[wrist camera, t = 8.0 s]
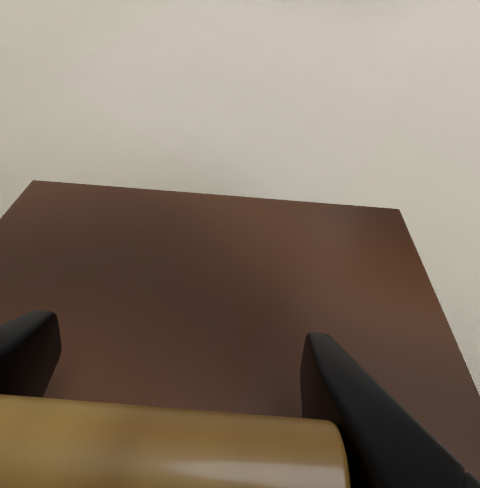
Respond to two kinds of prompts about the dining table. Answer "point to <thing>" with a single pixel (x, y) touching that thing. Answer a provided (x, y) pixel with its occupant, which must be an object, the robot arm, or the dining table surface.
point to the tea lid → (214, 337)
